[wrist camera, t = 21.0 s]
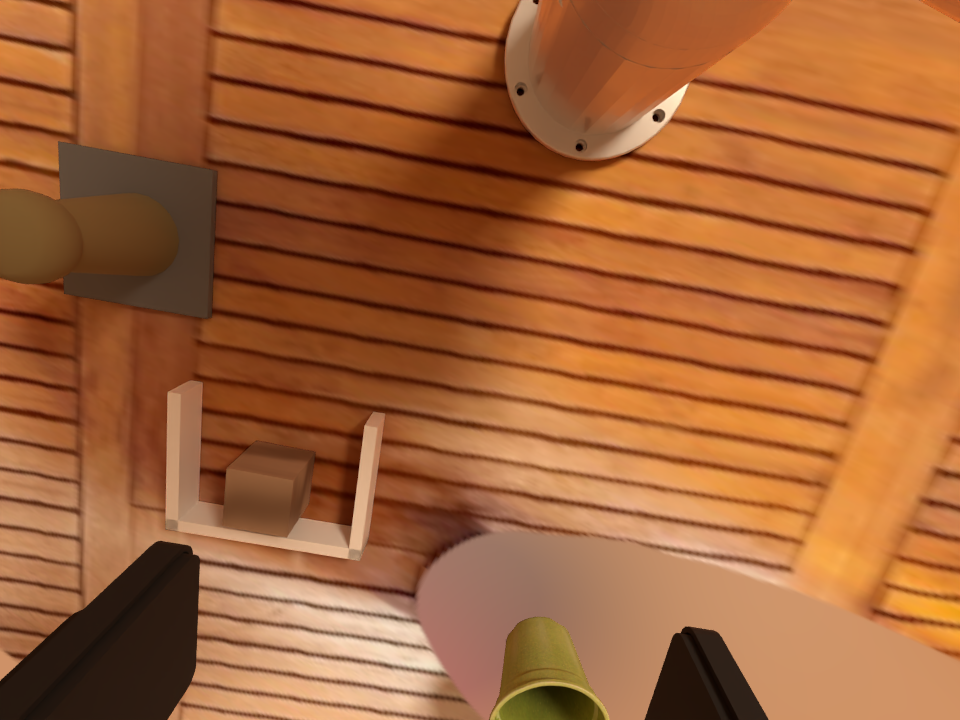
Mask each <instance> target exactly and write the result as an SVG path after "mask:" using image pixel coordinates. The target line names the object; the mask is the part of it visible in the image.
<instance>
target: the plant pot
mask: <svg viewBox="0 0 960 720" xmlns="http://www.w3.org/2000/svg"><path fill="white" fill-rule="evenodd" d="M489 720H610V719H609V716H608V713H607V710H606V708H605V707H604V705H603V704H602V702H601V701H600V699H599V698H598V697H597V696H596V695H595V693H594V691H593V690H592V688H591V687H590V686H589V683H588V681H587V678H586V676H585V673H584V671H583V668H582V666H581V663H580V660H579V658H578V655H577V652H576V650H575V647H574V644H573V642H572V639H571V637H570V635H569V632H568V631H567V630H566V628H565V627H564V626H561V625H559V624H558V623H556V622H555V621H553V620H552V619H550V618H546V617H533V618H528V619H525V620H523V621H521V622H519V623H518V624H517V625H516V627H515V628H514V629H513V630H512V632H511V633H510V634H509V635H508V637H507V641H506V648H505V656H504V665H503V673H502V680H501V688H500V695H499V697H498V699H497V702H496V705H495V707H494V708H493V710H492V712H491V715H490V718H489Z"/></svg>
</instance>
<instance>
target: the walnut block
mask: <svg viewBox="0 0 960 720" xmlns="http://www.w3.org/2000/svg"><path fill="white" fill-rule="evenodd" d="M314 460H315V452H314V451H309V450H303V449H298V448H293V447H288V446H283V445H277V444H272V443H267V442H262V441H255V442H254V443H253V444H252V445H251V446H250V447H249V448H248V449H247V450H246V451H245V452H243V453H242V454H241V455H240V456H239V457H238V458H237V459H236V460H235V461H234V462H233V463H231V464H230V465H229V466H228V467H227V470H226V483H225V496H224V509H223V521H222V526H226V527H231V528H237V529H242V530H248V531H253V532H258V533H264V534H269V535H275V536H280V537H286V538H287V537H288V535H289V534H290V532H291V530H292V529H293V527H294V526H295V524H296V523H297V521H298V520H299V518H300V517H301V515H302V514H303V512H304V510H305V509H306V507H307V506H308V504H309V499H310V491H311V483H312V476H313V468H314Z"/></svg>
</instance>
